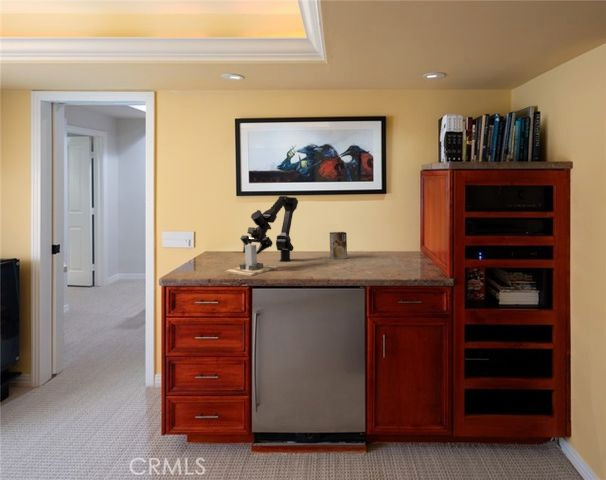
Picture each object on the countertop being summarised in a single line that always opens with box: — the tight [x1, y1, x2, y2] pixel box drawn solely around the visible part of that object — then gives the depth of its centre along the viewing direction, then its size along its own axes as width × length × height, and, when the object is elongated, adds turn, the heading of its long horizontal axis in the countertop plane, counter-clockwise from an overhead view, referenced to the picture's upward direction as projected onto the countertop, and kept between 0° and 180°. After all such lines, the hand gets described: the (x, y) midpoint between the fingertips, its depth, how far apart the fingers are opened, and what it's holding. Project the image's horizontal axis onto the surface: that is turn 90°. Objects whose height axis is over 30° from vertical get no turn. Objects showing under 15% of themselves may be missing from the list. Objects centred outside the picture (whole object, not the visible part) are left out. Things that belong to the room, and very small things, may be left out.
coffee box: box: [329, 231, 348, 260], centre depth 293 cm, size 9×6×16 cm
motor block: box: [244, 243, 258, 270], centre depth 259 cm, size 6×4×14 cm
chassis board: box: [223, 262, 279, 277], centre depth 261 cm, size 24×18×4 cm
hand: (250, 253), depth 259 cm, fingers open, 9 cm apart
